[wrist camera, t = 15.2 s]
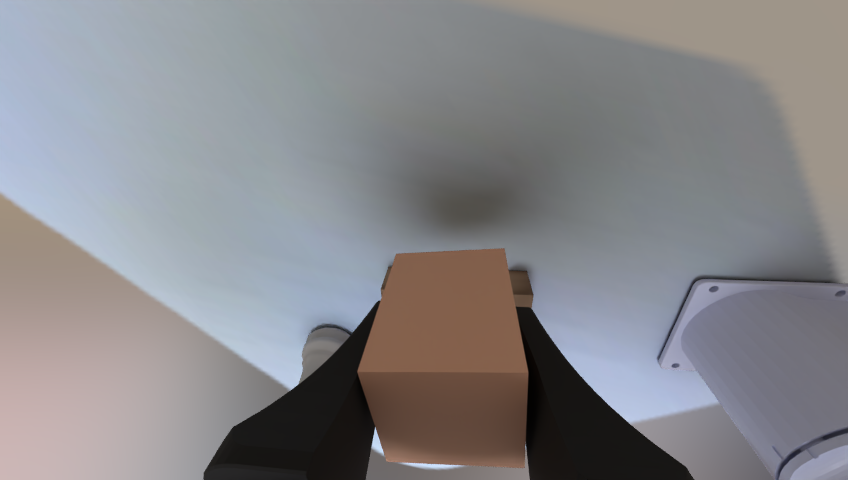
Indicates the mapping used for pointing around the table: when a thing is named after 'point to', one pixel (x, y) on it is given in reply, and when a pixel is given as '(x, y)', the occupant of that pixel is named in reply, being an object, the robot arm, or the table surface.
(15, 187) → the table surface
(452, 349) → the terracotta block
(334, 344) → the rook chess piece
